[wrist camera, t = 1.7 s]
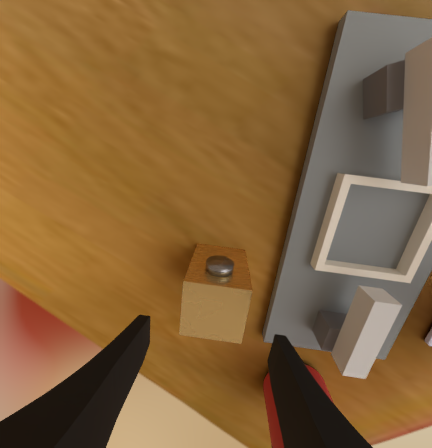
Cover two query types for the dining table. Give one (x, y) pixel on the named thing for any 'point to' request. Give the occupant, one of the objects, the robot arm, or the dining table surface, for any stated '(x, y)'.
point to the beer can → (271, 409)
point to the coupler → (216, 294)
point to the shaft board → (361, 197)
